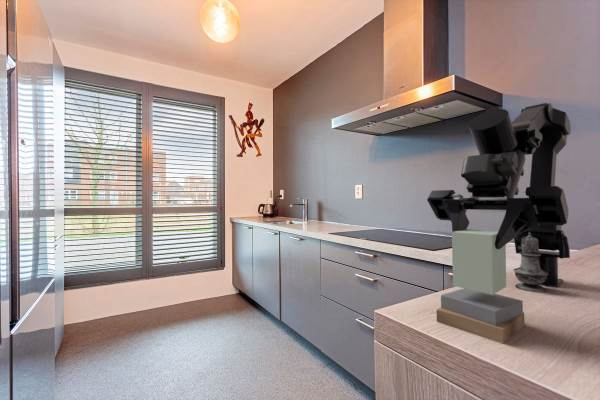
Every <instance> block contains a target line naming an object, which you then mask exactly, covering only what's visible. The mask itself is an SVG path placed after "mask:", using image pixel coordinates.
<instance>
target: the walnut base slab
mask: <svg viewBox="0 0 600 400" xmlns="http://www.w3.org/2000/svg"><path fill="white" fill-rule="evenodd" d="M436 322H437V323H440V324H443V325H445V326H449V327H452V328H455V329H458V330H461V331H463V332H466V333H470V334H472V335H476V336H478V337H481V338H485V339H487V340H490V341H493V342H497V343H499V344H502V345H503V344H504V343H506V342H507V341H508V340H509V339H511V338H512V337H513V336H514V335H515V334H516V333H517V332H518V331H519V330H521V329H522V328H524V326H525V322H526V321H525V312H524V311H523V314H521V315H519V316H517V317H515V318H512V319H510V320H508V321H506V322H504V323H501V324H499V325H497V326H494V325H491V324H488V323H485V322H482V321H479V320H476V319H473V318H470V317H467V316H464V315H461V314H458V313H456V312H453V311H450V310H447V309H444V308H441V307H439V308H437V309H436Z"/></svg>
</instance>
